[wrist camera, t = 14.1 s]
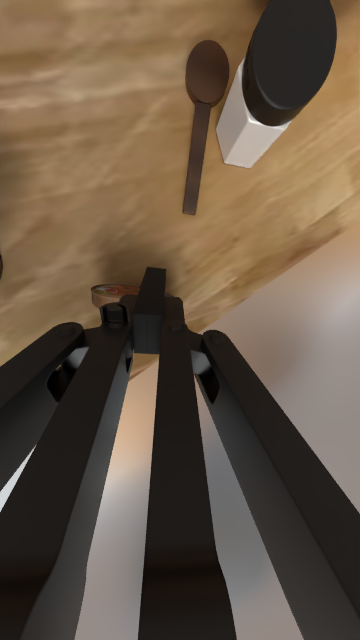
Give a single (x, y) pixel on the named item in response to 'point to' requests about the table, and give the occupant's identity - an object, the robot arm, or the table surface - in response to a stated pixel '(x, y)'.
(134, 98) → the table surface
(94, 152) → the table surface
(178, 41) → the table surface
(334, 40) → the jar
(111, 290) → the tin
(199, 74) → the serving spoon
